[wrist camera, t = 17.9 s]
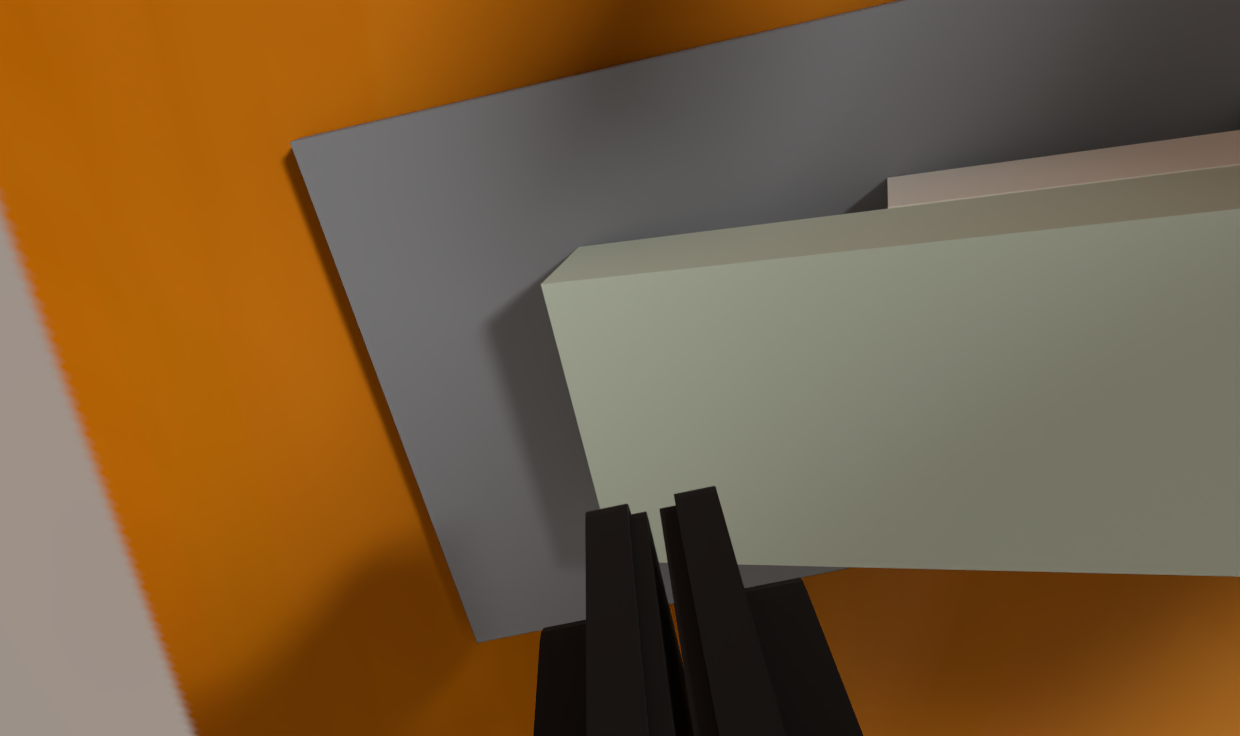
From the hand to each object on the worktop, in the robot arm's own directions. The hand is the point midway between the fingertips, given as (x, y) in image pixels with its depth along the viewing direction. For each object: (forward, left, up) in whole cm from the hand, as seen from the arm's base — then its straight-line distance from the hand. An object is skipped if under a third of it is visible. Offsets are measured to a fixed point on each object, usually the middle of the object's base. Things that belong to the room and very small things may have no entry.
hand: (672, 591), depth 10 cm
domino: (+1, 0, -6) cm, 6 cm away
